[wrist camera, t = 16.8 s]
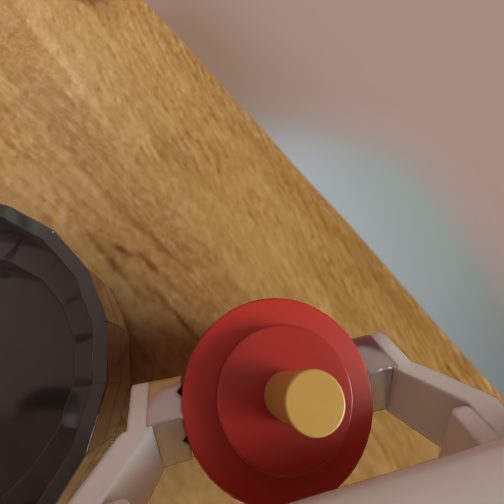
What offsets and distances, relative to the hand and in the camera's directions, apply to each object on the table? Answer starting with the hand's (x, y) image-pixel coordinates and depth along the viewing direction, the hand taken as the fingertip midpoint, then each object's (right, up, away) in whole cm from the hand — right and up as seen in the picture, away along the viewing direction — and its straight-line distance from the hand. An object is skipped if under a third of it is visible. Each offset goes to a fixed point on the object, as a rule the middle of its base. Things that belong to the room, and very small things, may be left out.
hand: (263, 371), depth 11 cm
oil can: (0, -2, +5) cm, 5 cm away
